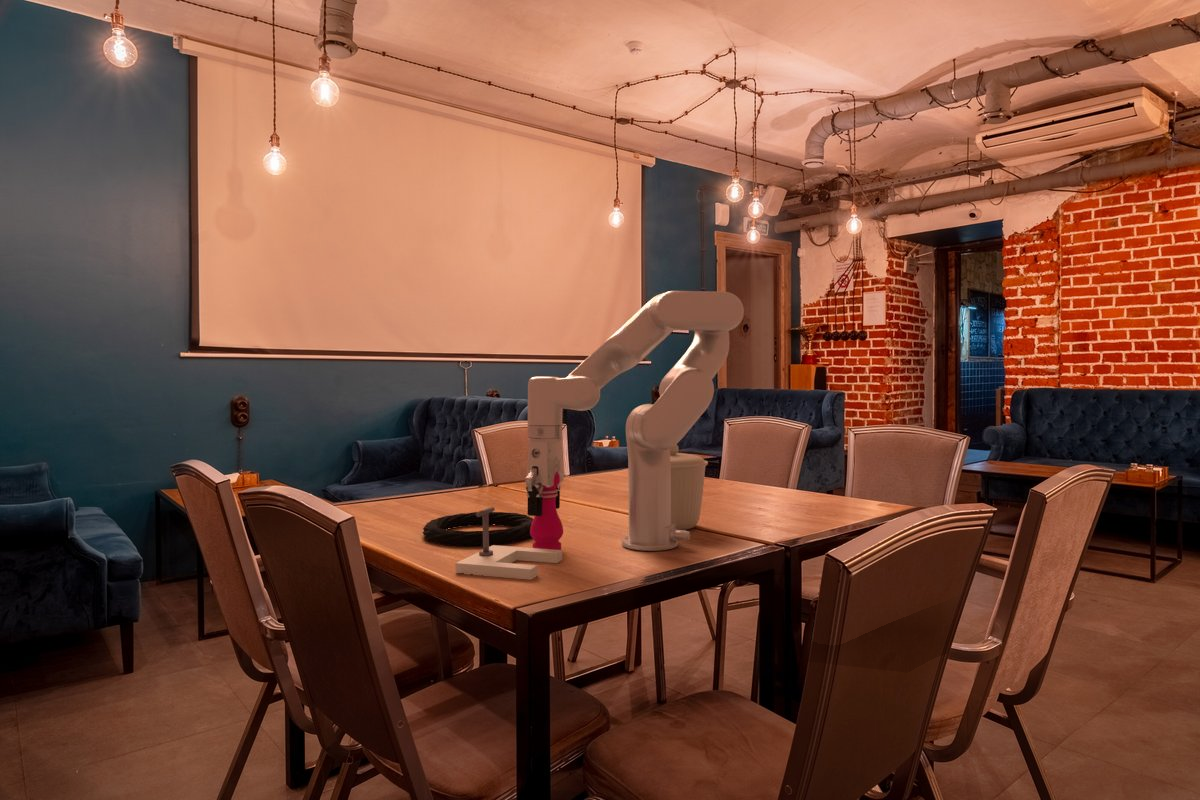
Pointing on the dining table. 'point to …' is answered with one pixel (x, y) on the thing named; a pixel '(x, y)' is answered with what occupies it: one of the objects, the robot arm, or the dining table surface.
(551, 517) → the pepper mill
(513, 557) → the u-shaped stand
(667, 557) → the dining table surface
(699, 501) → the canister
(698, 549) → the dining table surface
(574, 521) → the dining table surface
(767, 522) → the dining table surface
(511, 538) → the cable lock
